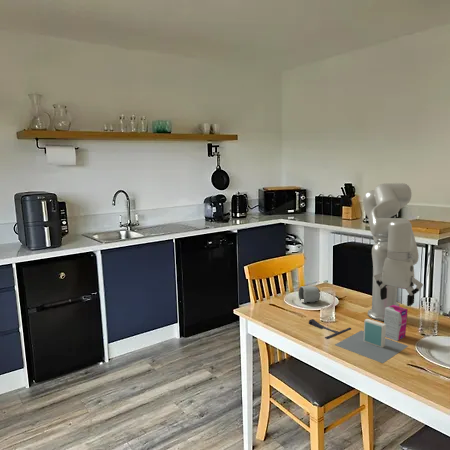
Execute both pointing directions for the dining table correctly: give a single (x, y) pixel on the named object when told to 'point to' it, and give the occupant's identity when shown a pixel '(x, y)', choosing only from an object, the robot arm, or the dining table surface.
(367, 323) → the tile
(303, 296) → the ceramic mug
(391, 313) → the supplement box
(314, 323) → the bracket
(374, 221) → the robot arm
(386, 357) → the mat
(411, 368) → the dining table surface
